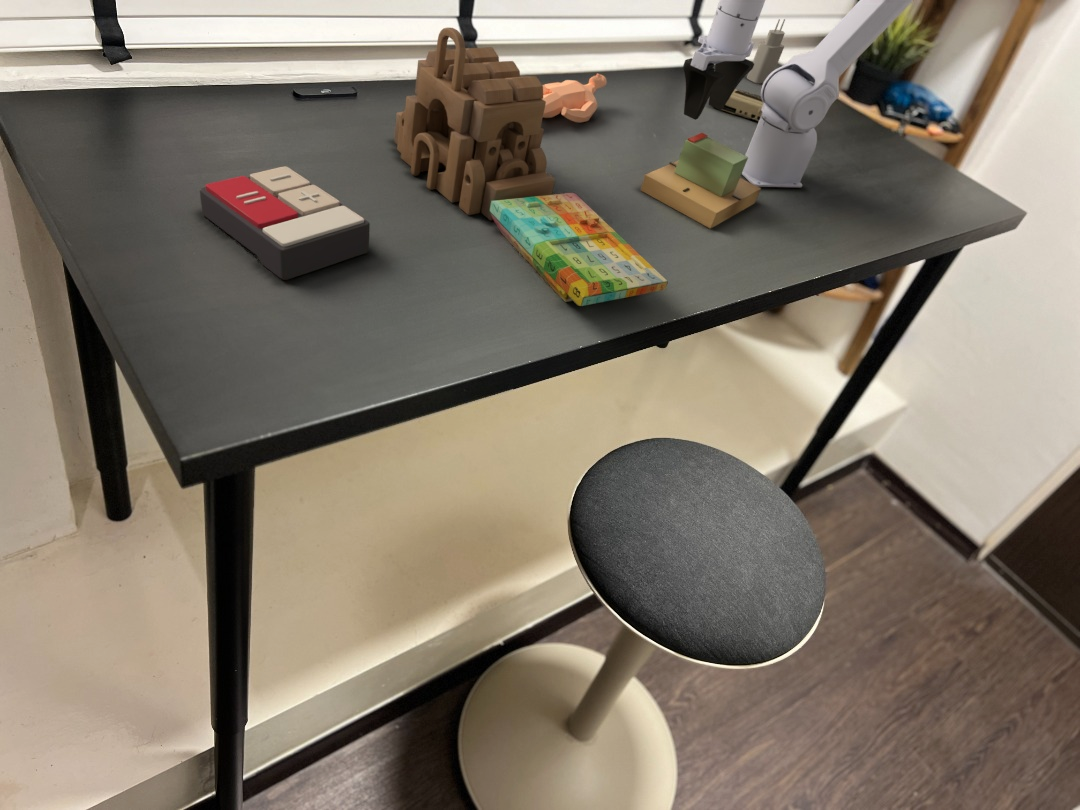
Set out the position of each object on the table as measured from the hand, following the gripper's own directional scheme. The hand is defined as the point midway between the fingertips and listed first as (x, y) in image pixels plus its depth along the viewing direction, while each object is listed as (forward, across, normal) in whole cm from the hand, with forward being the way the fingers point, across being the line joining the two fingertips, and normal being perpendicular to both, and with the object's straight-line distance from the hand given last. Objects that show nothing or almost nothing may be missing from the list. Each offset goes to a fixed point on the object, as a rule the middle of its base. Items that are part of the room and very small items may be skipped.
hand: (703, 111), depth 113 cm
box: (+7, +5, +6) cm, 10 cm away
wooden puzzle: (+10, +32, -16) cm, 37 cm away
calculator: (+10, +60, -16) cm, 63 cm away
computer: (+10, -36, -5) cm, 38 cm away
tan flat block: (+9, +5, +6) cm, 12 cm away
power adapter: (+10, -57, -14) cm, 59 cm away
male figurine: (+10, +4, -24) cm, 26 cm away
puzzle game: (+10, +38, +6) cm, 40 cm away
